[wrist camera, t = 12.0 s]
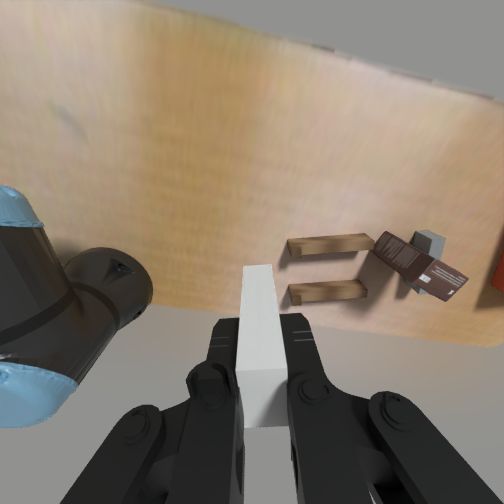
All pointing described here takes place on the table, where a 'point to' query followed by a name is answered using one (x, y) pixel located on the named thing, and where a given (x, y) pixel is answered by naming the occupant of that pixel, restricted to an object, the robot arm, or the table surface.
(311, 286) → the brown piece
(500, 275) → the brick
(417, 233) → the end stop
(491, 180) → the table surface
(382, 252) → the box
